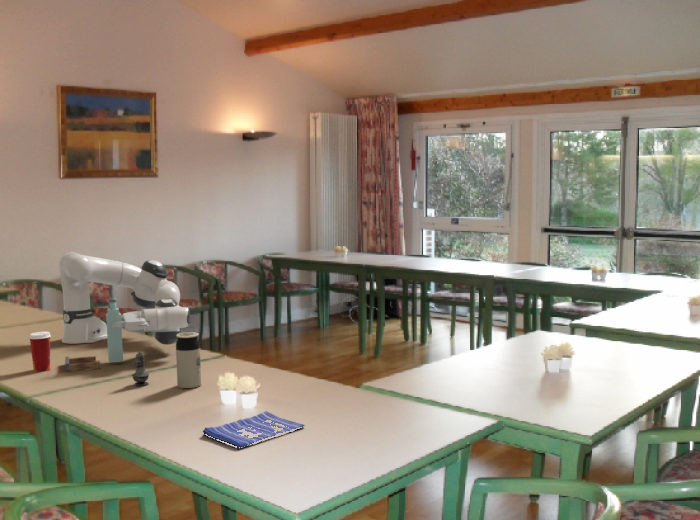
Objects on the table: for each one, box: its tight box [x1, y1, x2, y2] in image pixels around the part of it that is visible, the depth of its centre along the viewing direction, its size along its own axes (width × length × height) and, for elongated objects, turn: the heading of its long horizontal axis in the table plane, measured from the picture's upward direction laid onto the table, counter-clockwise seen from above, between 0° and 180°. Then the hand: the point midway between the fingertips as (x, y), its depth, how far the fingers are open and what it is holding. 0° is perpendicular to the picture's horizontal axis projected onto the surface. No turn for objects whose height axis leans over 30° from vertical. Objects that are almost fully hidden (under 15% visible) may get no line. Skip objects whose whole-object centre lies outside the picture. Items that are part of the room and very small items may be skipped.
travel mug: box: [175, 331, 202, 389], centre depth 256 cm, size 8×8×18 cm
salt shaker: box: [131, 350, 150, 388], centre depth 259 cm, size 6×6×12 cm
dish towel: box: [202, 410, 306, 448], centre depth 209 cm, size 17×24×3 cm
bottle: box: [105, 297, 124, 363], centre depth 288 cm, size 5×5×24 cm
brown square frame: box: [64, 355, 101, 373], centre depth 285 cm, size 12×12×3 cm
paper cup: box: [28, 331, 52, 373], centre depth 280 cm, size 8×8×14 cm
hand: (111, 323), depth 288 cm, fingers closed on bottle, 5 cm apart
